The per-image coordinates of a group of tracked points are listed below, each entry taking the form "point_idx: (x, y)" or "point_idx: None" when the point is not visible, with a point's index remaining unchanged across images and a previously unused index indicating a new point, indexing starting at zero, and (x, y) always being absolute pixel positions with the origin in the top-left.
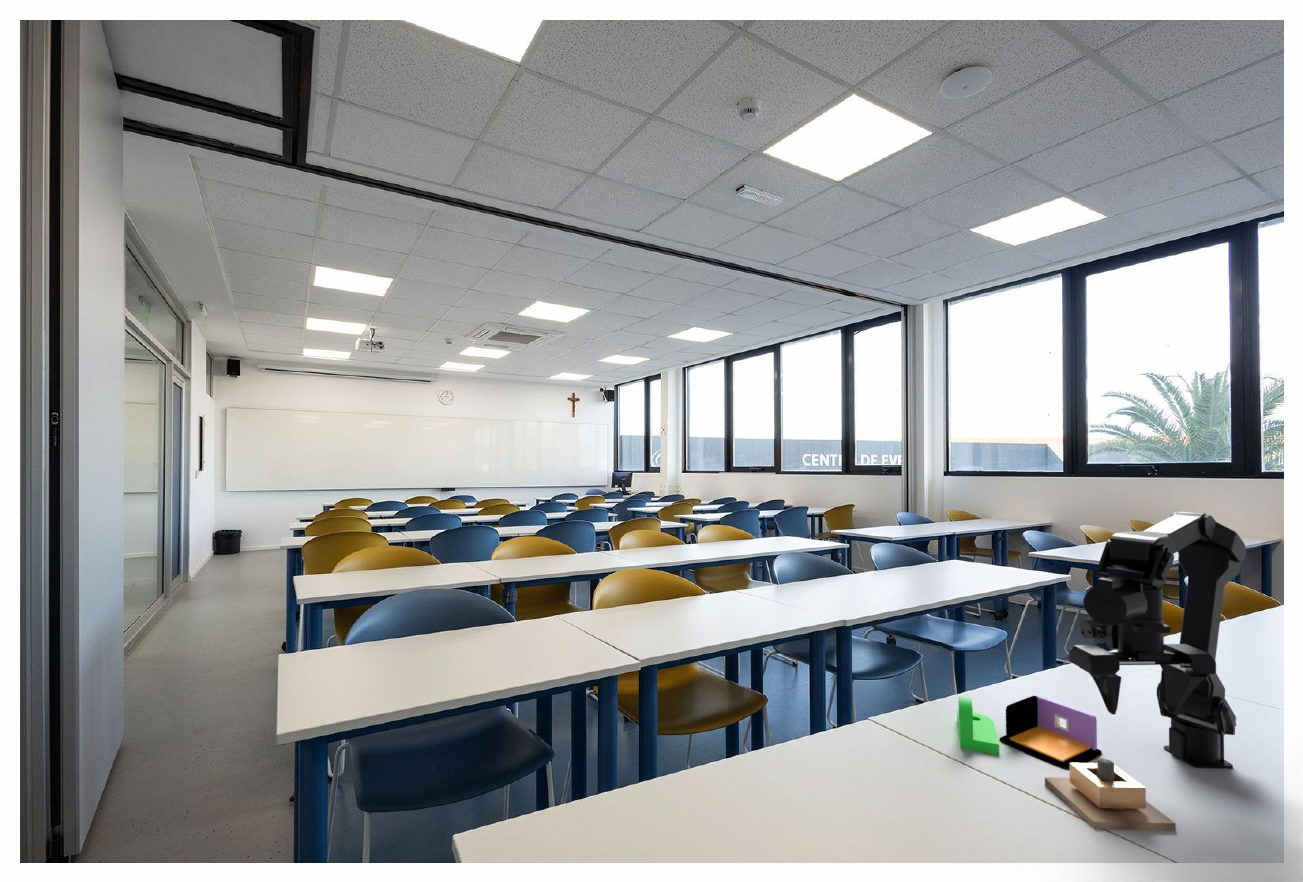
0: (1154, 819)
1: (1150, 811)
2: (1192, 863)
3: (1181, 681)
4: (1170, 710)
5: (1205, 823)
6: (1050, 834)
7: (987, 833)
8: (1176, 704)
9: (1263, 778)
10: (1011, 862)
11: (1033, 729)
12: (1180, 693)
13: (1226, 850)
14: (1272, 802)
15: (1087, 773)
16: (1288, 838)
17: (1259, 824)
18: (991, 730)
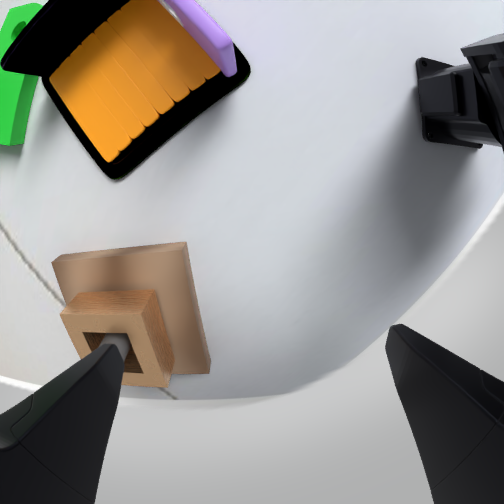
0: (181, 367)
1: (186, 350)
2: (194, 401)
3: (447, 496)
4: (389, 346)
5: (281, 333)
6: (58, 357)
7: (12, 350)
8: (401, 396)
9: (490, 182)
10: (33, 383)
11: (122, 11)
12: (423, 449)
13: (259, 382)
14: (445, 257)
15: (82, 348)
16: (373, 346)
17: (368, 322)
18: (18, 78)
